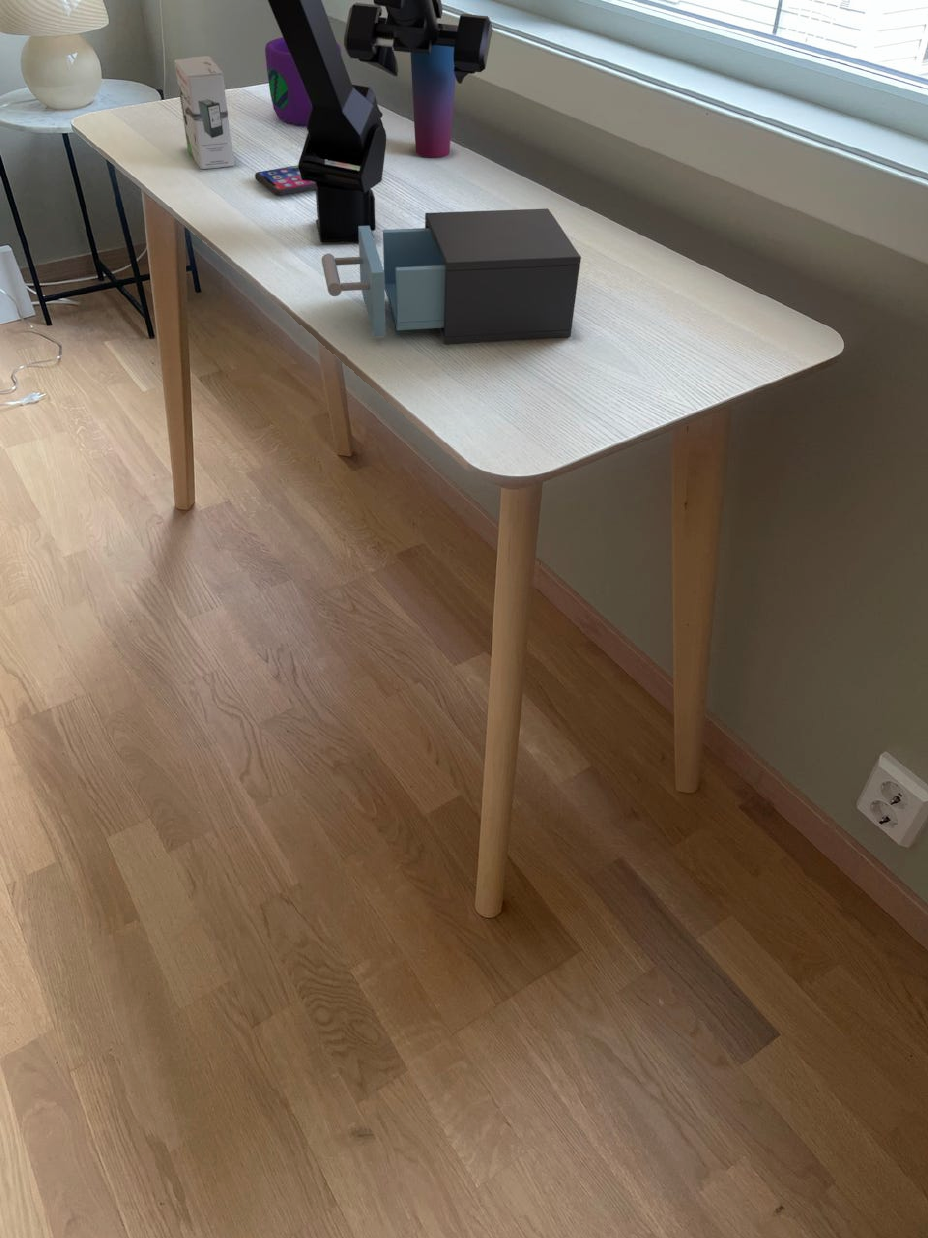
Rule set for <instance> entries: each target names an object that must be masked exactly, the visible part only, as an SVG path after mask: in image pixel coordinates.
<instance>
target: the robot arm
mask: <svg viewBox="0 0 928 1238" xmlns="http://www.w3.org/2000/svg"><path fill="white" fill-rule="evenodd" d="M267 2H268V5H269V6H270V9H271V12H272V13H273V17H274V19H275V21H276V24H277V26H278V28H279V31H280V33H281V35H282V37H283V38H284V40H285V43H286V45H287V47H288V50H289V52H290V55H291V57H292V59H293V62H294V64H295V66H296V69H297V71H298V73H299V76H300V78H301V81H302V83H303V85H304V88H305V90H306V92H307V95H308V97H309V100H310V102H311V105H312V108H311V111H310V114H309V118H308V121H307V125H305V126H306V130H307V135H306V137H305V141H304V144H303V147H302V150H301V154H300V157H299V160H298V164H297V165H298V168H299V171H300V175H301V178H302V180H304V181H307V180H308V181H313V182H315V188H316V190H315V201H316V202H315V203H316V213H317V214H316V215H317V219H315V224H316V228H317V229H316V230H317V234H318V238H319V243H321V244H341V243H359V233H358V226H370V229H371V232H372V235H373V236H374V234H373V232H375V231H376V227H377V226H376V198H375V194H374V192H373V190H372V189H373V188H374V187H375V186H377V185H378V184H379V183H381V182H382V180H383V173H384V172H383V171H384V164H385V158H386V157H385V156H386V150H387V149H386V148H387V133H386V129H385V127H384V124H383V120H382V118H383V116H384V115H383V112H382V111H381V109H380V108H379V106H378V101H377V96H376V94H375V91H374V90H373V89H372V87H370V86H362V85H358V84H352V82H351V81H352V80H351V79H350V75H349V72H348V70H347V68H346V65H345V61H344V60H343V56H342V52H341V53H340V50H339V48H338V45H337V43H338V42H337V39H336V36H335V34H334V30H333V28H332V26H331V23H330V20H329V18H328V15H327V12H326V9H325V6H324V3H323V1H322V0H267ZM382 7H385V10H386V13H387V15H386V17H383V16H382V13H383V8H382ZM443 10H444V9H443V3H442V0H373V4H371V3H362V2H354V3H353V4H352V5H351V7H350V8H349V10H348V14H347V21H346V26H345V30H344V37H343V47H344V49H345V51H346V54H347V55H348V56H349V58H350V59H357V60H359V61H360V62H362V63H366V64H368V65H371V66H373V67H375V68H378V69H379V70H382V71H383V72H386V73H387V74H389V75H391V76H393V77H398V74H399V64H398V61H397V57H396V55H395V52H401V53H418V54H427V55H430V54H431V48H432V46H433V45H439V46H449V47H454V59H453V61H454V73H455V77H456V80H455V81H456V82H457V83H458V84H463V81H464V79H465V77H466V76H468V75H473V74H475V73H482V72H483V71H485V69H486V68H487V62H488V57H489V52H490V47H491V42H492V37H493V31H494V30H493V22H492V21H491V18H490V17H489V16H488V15H479V14H471V13H470V14H469V13H461V14H460V15H459V19H458V24H448V23H438V19H442V15H443ZM326 160H330V161H335V162H340V163H345V164H350V165H355V166H360V170H359V171H358V170H353V169H347V168H342V167H337V166H332V165H327V164H325V161H326Z"/></svg>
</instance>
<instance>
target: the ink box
mask: <svg viewBox="0 0 928 1238" xmlns="http://www.w3.org/2000/svg"><path fill="white" fill-rule="evenodd" d="M173 61H174V69H175V74H176V80H177V88H178V93H179V94H178V95H179V100H180V106H181V113H182V120H183V127H184V132H185V139H186V146H187V147H186V148H187V151H188V152H189V154H190V155H191V157H192V158H193V160H194V161H195V163H197V165H198V167H199V168H200V169H201V170H208V169H217V168H218V169H219V168H229V167H234V166H235V165H236V164H235V157H234V149H233V142H232V134H231V127H230V119H229V111H228V103H227V95H226V94H227V93H226V87H225V79H224V74H223V71H222V70H221V68H219V66H218V65H217V64H216V62H215V61H214V60H213V59H212V57H211V56H209V55H203V56H195V57H188V58H177V59H174V60H173Z"/></svg>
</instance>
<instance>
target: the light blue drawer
mask: <svg viewBox="0 0 928 1238" xmlns="http://www.w3.org/2000/svg"><path fill="white" fill-rule="evenodd" d="M358 233H359V242H358V253H359V255H358V256H350V257H346V256H345V257H335V256H334V255H333V254H332V253H325V254H323V255H322V257H321V264H322V269H323V273H324V278H325V283H326V288H327V292H328V294H329V295H330V296H332V297H338V296H340V295H341V294H342V292H352V291H354V292H355V291H361V294H362V299H363V302H364V305H365V310H366V314H367V316H368V320H369V324H370V328H371V332H372V335H373V338H385V337H386V335H387V334H386V298H387V301H388V304H389V305H388V306H389V308H390V312H391V315H392V317H393V321H394V324H395V327H396V330H397V331H406V330H426V329H439V328H444V302H445V268H446V267H445V265H444V262H443V260H442V258H441V255H440V253H439V251H438V248H437V246H436V244H435V241H434V239H433V237H432V234H431V232H430V230H429V228H425V227H422V228H421V227H419V228H395V229H392V228H391V229H382V255H383V256H382V258H383V259H382V260H383V262H381V258H380V255H379V252H378V248H377V245H376V242H375V238H374V234H373V235H372V233H373V231H372V232H371V229H370V226H358ZM382 263H383V264H382ZM355 265H359V281H357V282H356V281H355V282H341V279H340V275H339V274H340V273H339V269H338V267H337V266H355ZM385 295H386V296H385Z"/></svg>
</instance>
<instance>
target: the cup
mask: <svg viewBox="0 0 928 1238" xmlns="http://www.w3.org/2000/svg"><path fill="white" fill-rule="evenodd" d="M453 59H454V47H449V46H439V45H433V46H432V48H431V54H430V55H427V54H418V53H410V70H411V71H410V72H411V73H410V74H411V90H412V109H413V110H412V111H413V127H414V147H415V153H416V154H417V155H418V156H420V157H423V158H429V159H439V158H445V157H447V156H449V155H450V149H451V139H452V138H451V137H452V128H453V127H452V124H453V114H454V101H455V90H456V81H457V80H456V77H455V73H454V61H453Z"/></svg>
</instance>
